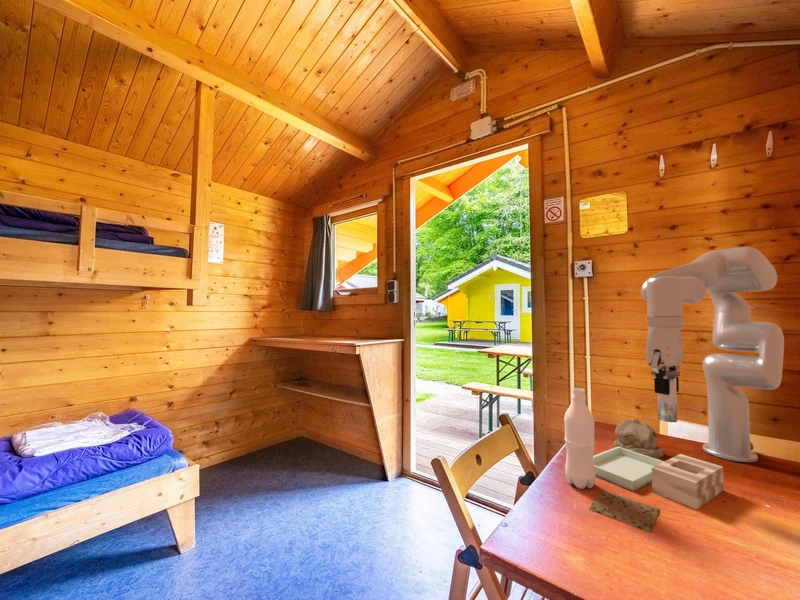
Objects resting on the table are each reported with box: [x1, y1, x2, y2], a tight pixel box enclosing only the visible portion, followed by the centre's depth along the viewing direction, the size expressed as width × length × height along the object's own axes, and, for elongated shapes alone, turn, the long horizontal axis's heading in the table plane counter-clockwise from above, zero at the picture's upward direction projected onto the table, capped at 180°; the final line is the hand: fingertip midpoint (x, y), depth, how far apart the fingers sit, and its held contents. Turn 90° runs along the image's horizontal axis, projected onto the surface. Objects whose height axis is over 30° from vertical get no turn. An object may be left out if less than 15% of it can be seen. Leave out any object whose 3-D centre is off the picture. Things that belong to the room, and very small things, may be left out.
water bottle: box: [563, 387, 597, 490], centre depth 91 cm, size 7×7×25 cm
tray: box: [593, 446, 665, 492], centre depth 98 cm, size 20×14×2 cm
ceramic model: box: [613, 418, 665, 459], centre depth 113 cm, size 14×11×10 cm
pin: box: [652, 369, 681, 423], centre depth 91 cm, size 6×6×13 cm
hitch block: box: [651, 453, 724, 510], centre depth 87 cm, size 16×9×6 cm, turn 120°
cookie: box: [588, 489, 661, 533], centre depth 80 cm, size 12×12×1 cm
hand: (666, 391), depth 91 cm, fingers closed on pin, 4 cm apart
